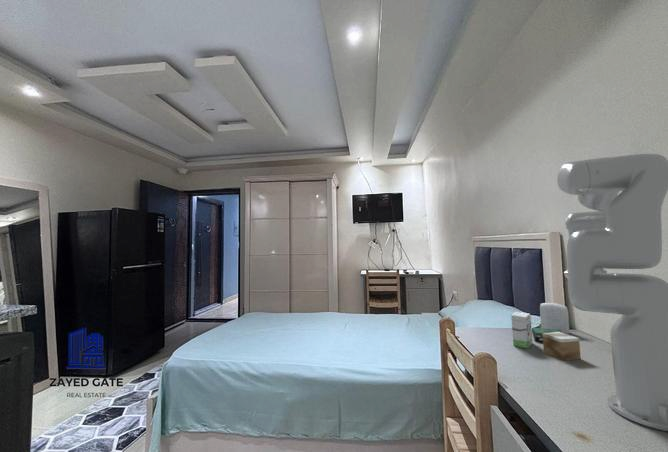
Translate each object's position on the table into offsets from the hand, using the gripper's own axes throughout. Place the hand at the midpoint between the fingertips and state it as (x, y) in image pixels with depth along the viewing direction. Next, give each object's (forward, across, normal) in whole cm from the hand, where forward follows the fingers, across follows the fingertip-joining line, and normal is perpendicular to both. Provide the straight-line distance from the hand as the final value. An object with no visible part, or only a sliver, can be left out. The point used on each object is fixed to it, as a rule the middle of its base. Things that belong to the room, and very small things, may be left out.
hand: (587, 294), depth 99 cm
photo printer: (+21, -11, -24) cm, 33 cm away
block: (+20, +13, 0) cm, 24 cm away
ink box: (+21, +17, -12) cm, 29 cm away
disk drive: (+21, +1, -16) cm, 27 cm away
